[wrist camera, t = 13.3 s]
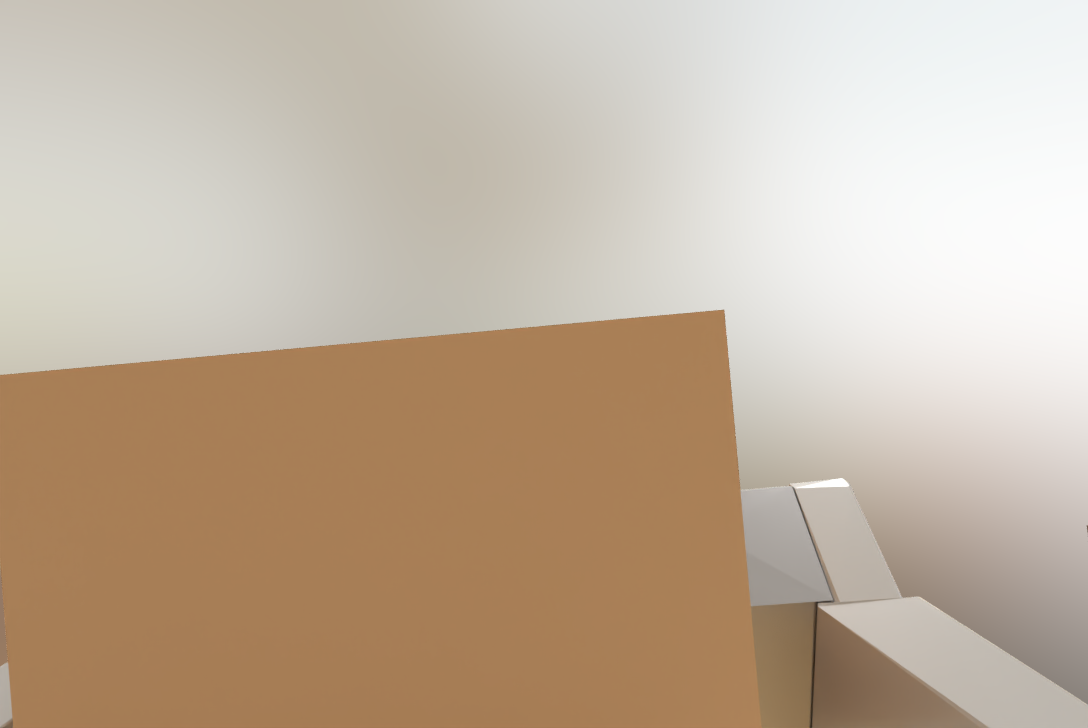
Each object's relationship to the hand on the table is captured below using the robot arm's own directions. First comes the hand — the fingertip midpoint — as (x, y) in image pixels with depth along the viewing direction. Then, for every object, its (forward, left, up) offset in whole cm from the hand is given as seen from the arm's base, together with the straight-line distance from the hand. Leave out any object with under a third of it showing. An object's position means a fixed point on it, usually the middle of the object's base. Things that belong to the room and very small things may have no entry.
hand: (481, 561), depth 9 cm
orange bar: (0, +8, -2) cm, 8 cm away
